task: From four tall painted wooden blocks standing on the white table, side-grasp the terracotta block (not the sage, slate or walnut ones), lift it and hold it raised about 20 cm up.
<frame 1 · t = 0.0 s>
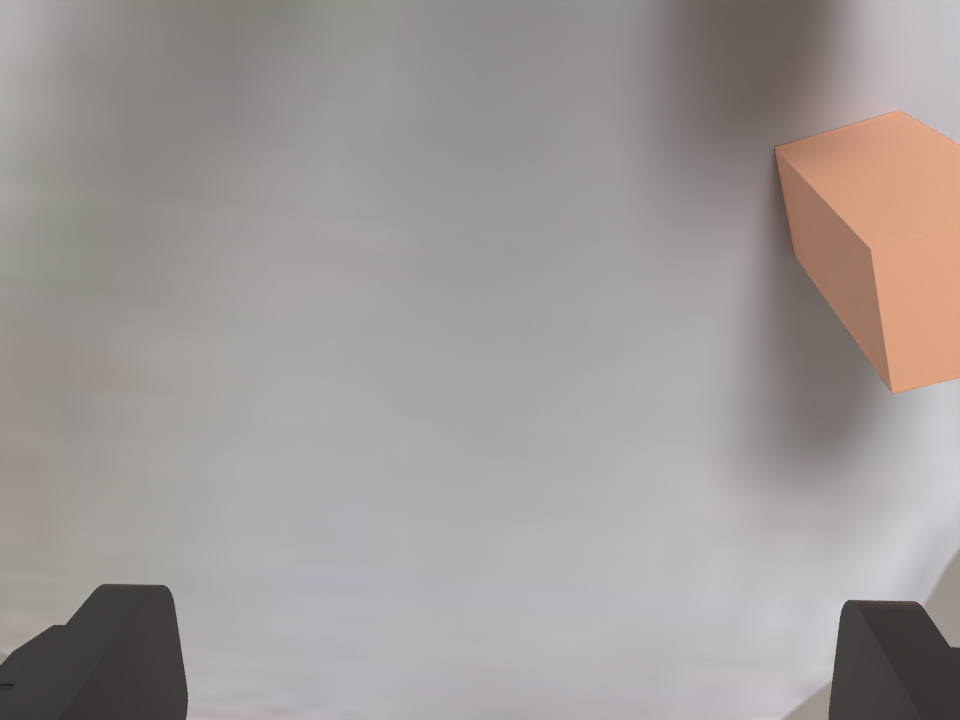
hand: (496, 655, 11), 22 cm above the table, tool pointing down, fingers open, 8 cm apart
terracotta block: (845, 186, 30), on the table
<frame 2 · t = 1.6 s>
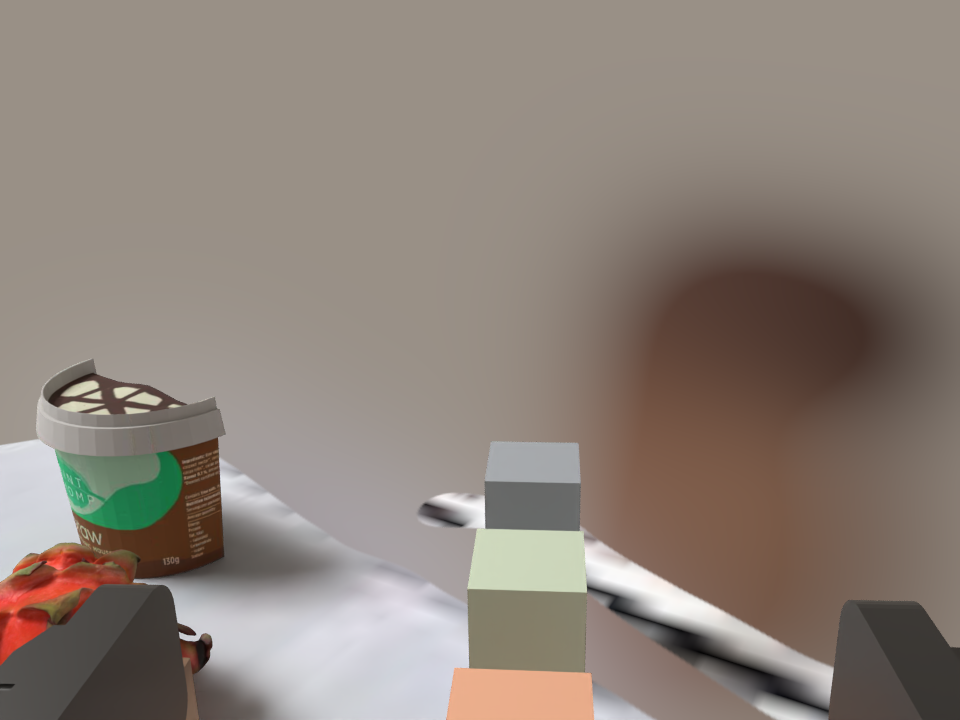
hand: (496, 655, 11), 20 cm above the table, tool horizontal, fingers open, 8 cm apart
slate block: (532, 651, 43), on the table
food container: (128, 558, 52), on the table
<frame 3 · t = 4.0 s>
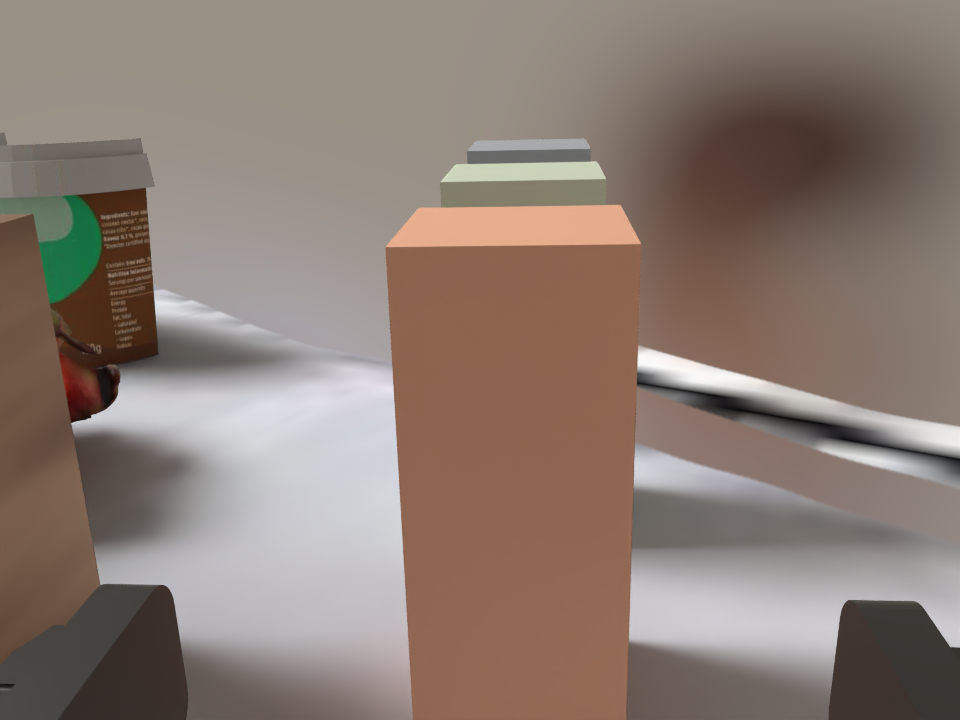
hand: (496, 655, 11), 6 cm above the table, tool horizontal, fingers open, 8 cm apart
terracotta block: (521, 693, 19), on the table
sage block: (528, 512, 27), on the table
slate block: (531, 413, 34), on the table
food container: (43, 359, 43), on the table
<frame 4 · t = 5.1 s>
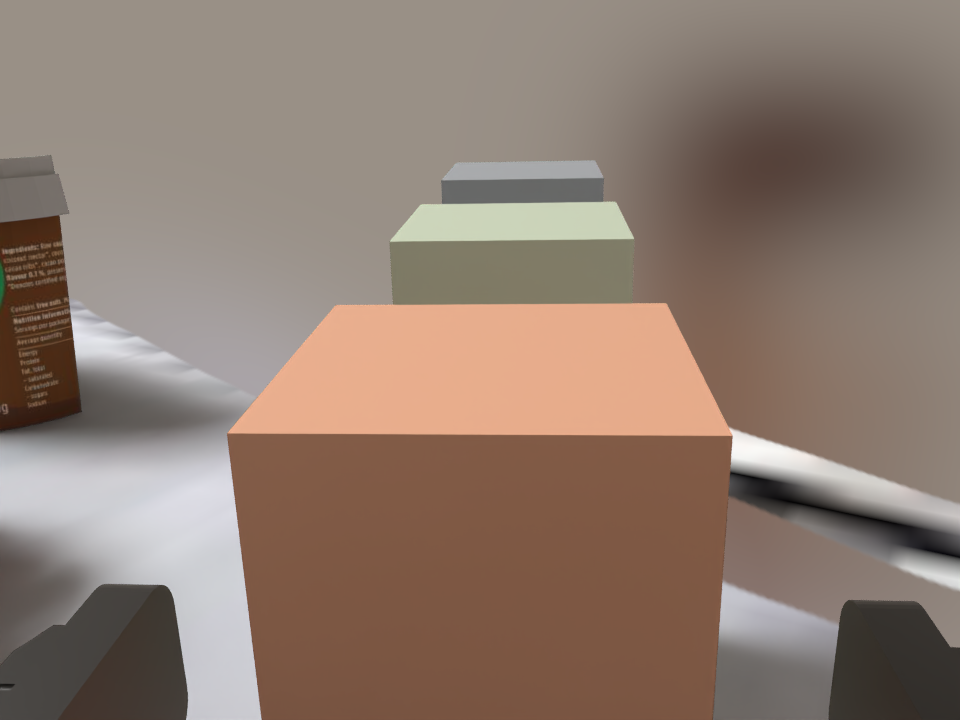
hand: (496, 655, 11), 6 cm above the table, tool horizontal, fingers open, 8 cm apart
sage block: (519, 674, 20), on the table
slate block: (526, 505, 27), on the table
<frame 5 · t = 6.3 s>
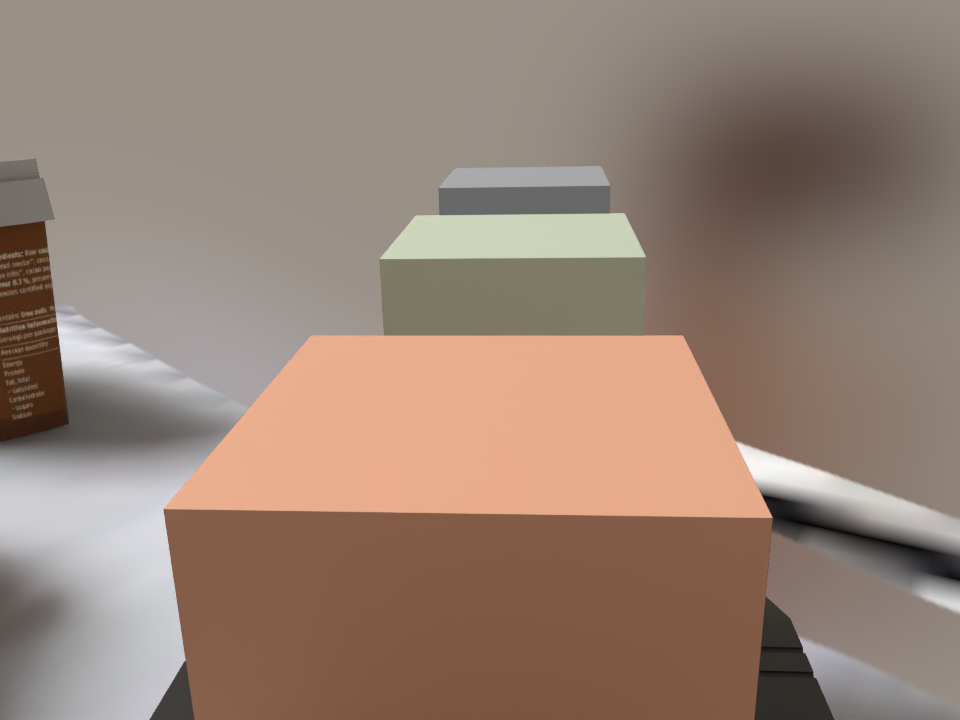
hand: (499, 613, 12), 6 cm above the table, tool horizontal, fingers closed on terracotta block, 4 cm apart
sage block: (520, 715, 19), on the table
slate block: (528, 526, 26), on the table
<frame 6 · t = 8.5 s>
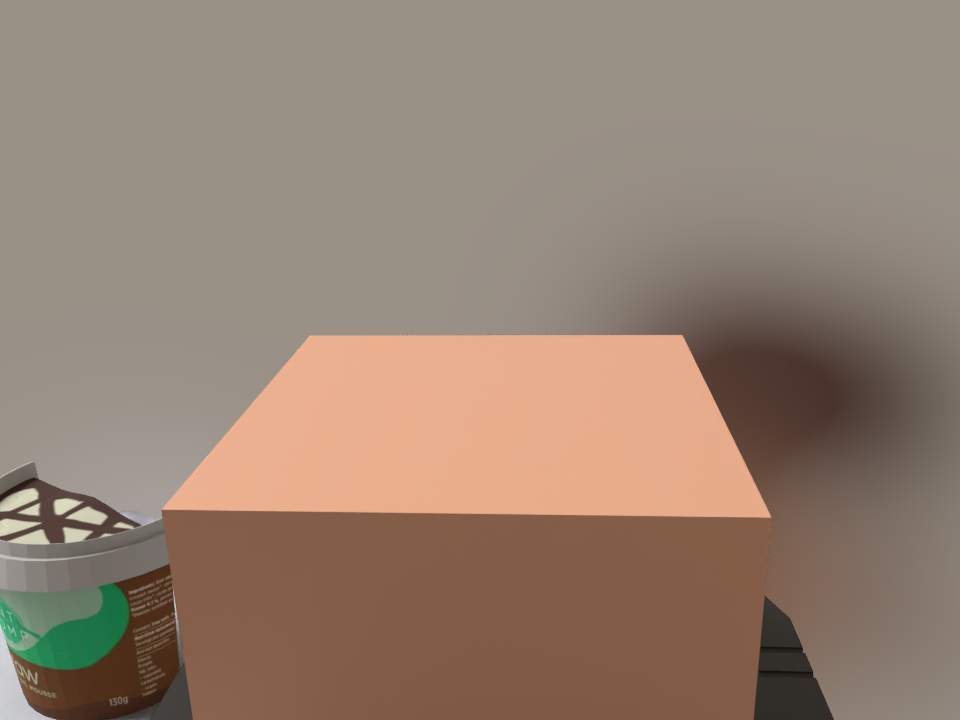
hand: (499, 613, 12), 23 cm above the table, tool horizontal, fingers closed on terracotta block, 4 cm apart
food container: (72, 692, 45), on the table
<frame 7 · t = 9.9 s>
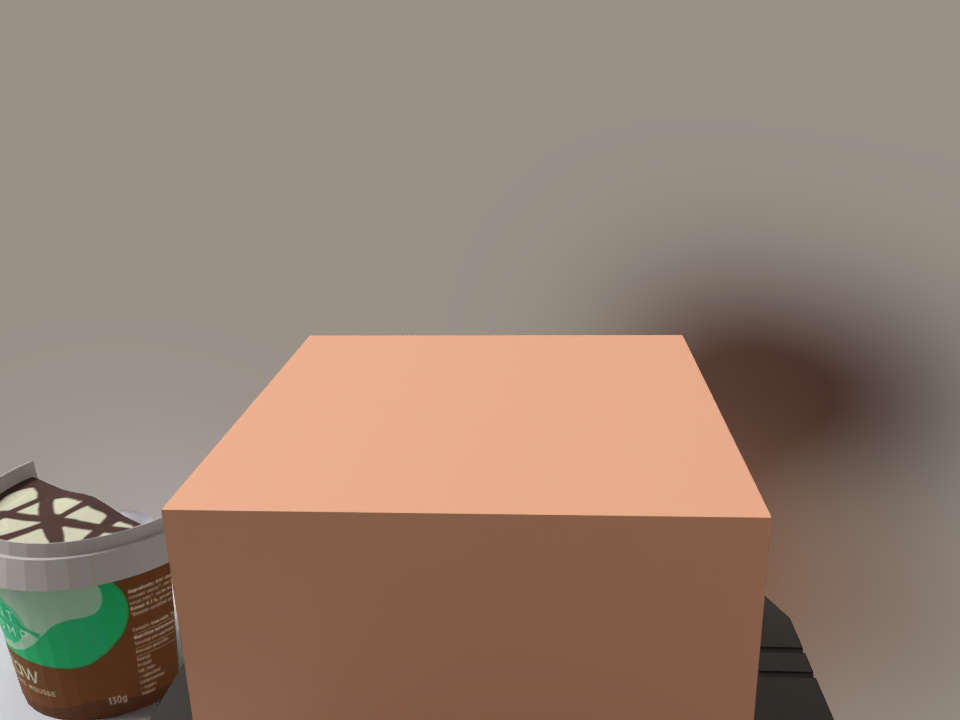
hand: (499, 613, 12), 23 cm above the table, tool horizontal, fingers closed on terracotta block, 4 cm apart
food container: (71, 691, 46), on the table
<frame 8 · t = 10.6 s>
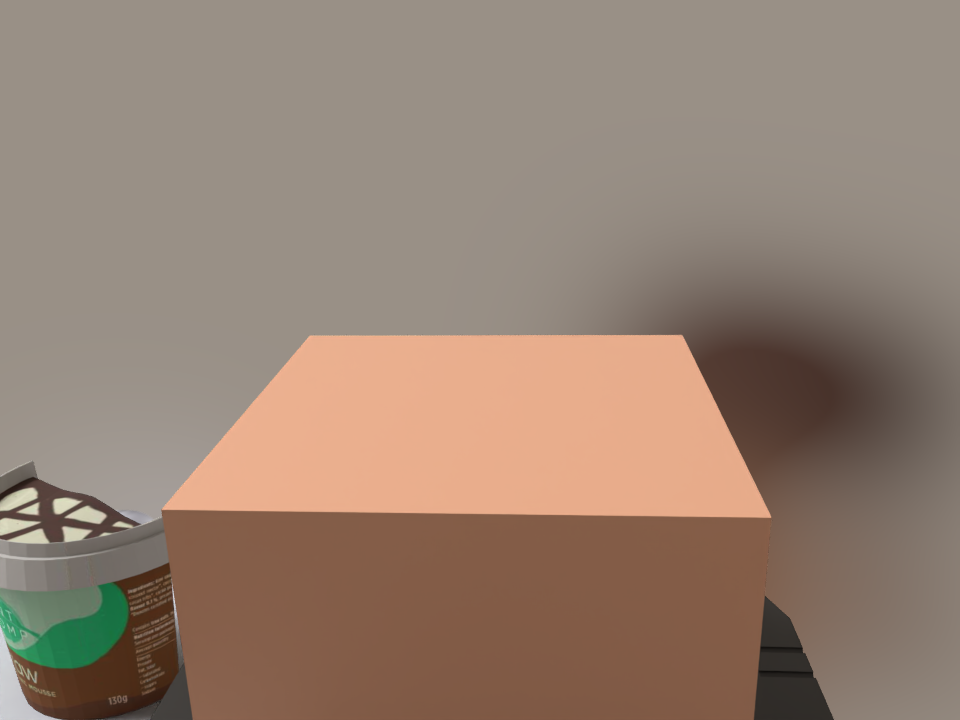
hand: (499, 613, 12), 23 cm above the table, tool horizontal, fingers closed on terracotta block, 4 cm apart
food container: (71, 691, 46), on the table
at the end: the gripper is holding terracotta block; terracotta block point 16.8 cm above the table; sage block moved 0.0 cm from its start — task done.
